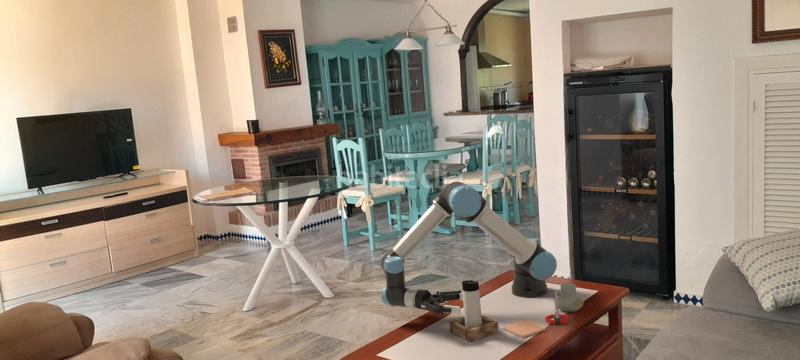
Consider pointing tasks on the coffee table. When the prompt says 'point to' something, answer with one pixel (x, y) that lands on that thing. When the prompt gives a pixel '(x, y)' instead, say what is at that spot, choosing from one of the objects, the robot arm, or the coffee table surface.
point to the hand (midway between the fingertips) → (468, 304)
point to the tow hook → (556, 314)
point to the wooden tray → (474, 333)
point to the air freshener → (569, 298)
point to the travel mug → (471, 304)
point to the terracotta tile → (524, 328)
